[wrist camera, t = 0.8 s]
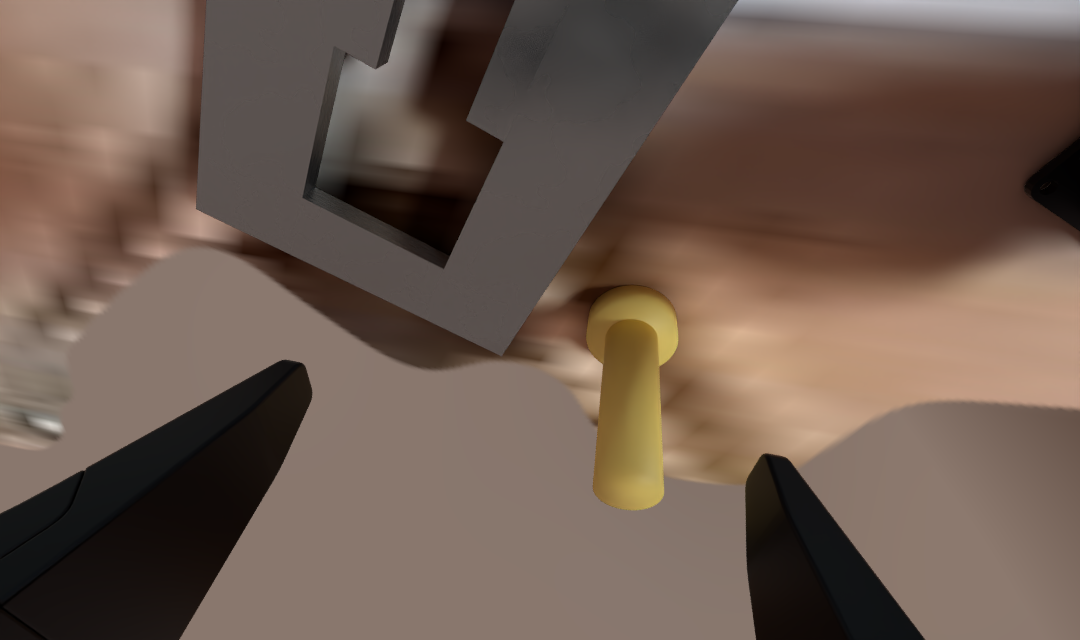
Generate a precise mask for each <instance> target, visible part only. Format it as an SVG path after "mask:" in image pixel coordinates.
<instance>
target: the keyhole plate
mask: <svg viewBox="0 0 1080 640" xmlns="http://www.w3.org/2000/svg"><path fill="white" fill-rule="evenodd" d="M737 1H738V0H515V1H514V4H513V6H512V9H511V11H510V14H509V16H508V19H507V21H506V23H505V26H504V28H503V31H502V33H501V36H500V38H499V41H498V43H497V46H496V48H495V51H494V53H493V55H492V58H491V60H490V63H489V65H488V68H487V70H486V73H485V75H484V78H483V80H482V83H481V85H480V87H479V90H478V92H477V95H476V97H475V100H474V102H473V105H472V107H471V110H470V112H469V115H468V117H467V119H466V121H468V122H470V123H471V124H473V125H475V126H477V127H478V128H480V129H482V130H484V131H486V132H487V133H489V134H491V135H493V136H494V137H496V138H498V139H500V140H501V141H503V145H502V147H501V149H500V151H499V153H498V155H497V157H496V159H495V162H494V164H493V166H492V168H491V170H490V172H489V174H488V176H487V179H486V181H485V183H484V185H483V187H482V189H481V191H480V193H479V196H478V198H477V200H476V202H475V204H474V206H473V208H472V210H471V213H470V215H469V217H468V219H467V221H466V223H465V225H464V227H463V230H462V232H461V234H460V236H459V238H458V240H457V242H456V244H455V247H454V249H453V251H452V253H451V255H450V256H449V255H447V254H445V253H443V252H441V251H439V250H437V249H435V248H433V247H431V246H429V245H427V244H425V243H423V242H421V241H419V240H418V239H416V238H414V237H412V236H410V235H408V234H406V233H404V232H402V231H400V230H398V229H396V228H394V227H392V226H390V225H388V224H386V223H384V222H382V221H380V220H378V219H376V218H374V217H372V216H371V215H369V214H367V213H365V212H363V211H361V210H359V209H357V208H355V207H353V206H351V205H349V204H347V203H345V202H343V201H341V200H339V199H337V198H335V197H333V196H331V195H329V194H327V193H325V192H323V191H322V190H320V189H318V188H316V187H315V186H316V181H317V177H318V172H319V168H320V163H321V159H322V154H323V150H324V145H325V141H326V136H327V132H328V127H329V123H330V119H331V114H332V110H333V105H334V101H335V96H336V92H337V87H338V83H339V78H340V74H341V69H342V65H343V60H344V56H345V52H346V53H348V54H349V55H351V56H353V57H355V58H356V59H358V60H360V61H362V62H364V63H365V64H367V65H369V66H371V67H372V68H374V69H377V68H379V67H380V66H382V65H384V64H386V63H387V62H388V59H389V56H390V52H391V48H392V45H393V41H394V38H395V34H396V30H397V27H398V23H399V20H400V16H401V13H402V9H403V5H404V2H405V0H206V17H205V38H204V58H203V78H202V98H201V119H200V139H199V159H198V180H197V200H196V209H197V210H199V211H201V212H203V213H205V214H207V215H209V216H211V217H214V218H216V219H218V220H220V221H222V222H224V223H226V224H228V225H230V226H232V227H234V228H236V229H238V230H241V231H243V232H245V233H247V234H249V235H251V236H253V237H255V238H257V239H259V240H261V241H263V242H265V243H268V244H270V245H272V246H274V247H276V248H278V249H280V250H282V251H284V252H286V253H288V254H290V255H292V256H294V257H297V258H299V259H301V260H303V261H305V262H307V263H309V264H311V265H313V266H315V267H317V268H319V269H321V270H324V271H326V272H328V273H330V274H332V275H334V276H336V277H338V278H340V279H342V280H344V281H346V282H348V283H351V284H353V285H355V286H357V287H359V288H361V289H363V290H365V291H367V292H369V293H371V294H373V295H375V296H378V297H380V298H382V299H384V300H386V301H388V302H390V303H392V304H394V305H396V306H398V307H400V308H402V309H405V310H407V311H409V312H411V313H413V314H415V315H417V316H419V317H421V318H423V319H425V320H427V321H429V322H432V323H434V324H436V325H438V326H440V327H442V328H444V329H446V330H448V331H450V332H452V333H454V334H456V335H459V336H461V337H463V338H465V339H467V340H469V341H471V342H473V343H475V344H477V345H479V346H481V347H483V348H486V349H488V350H490V351H492V352H494V353H496V354H498V355H500V356H502V355H503V353H504V352H505V350H506V349H507V347H508V346H509V344H510V343H511V341H512V340H513V338H514V337H515V335H516V334H517V332H518V331H519V329H520V328H521V326H522V325H523V323H524V322H525V320H526V319H527V317H528V316H529V314H530V313H531V311H532V310H533V308H534V307H535V305H536V304H537V302H538V301H539V299H540V298H541V296H542V295H543V293H544V292H545V290H546V289H547V287H548V286H549V284H550V283H551V281H552V280H553V278H554V277H555V275H556V274H557V272H558V271H559V269H560V268H561V266H562V265H563V263H564V262H565V260H566V259H567V257H568V256H569V254H570V253H571V251H572V250H573V248H574V247H575V245H576V244H577V242H578V241H579V239H580V238H581V236H582V235H583V233H584V231H585V230H586V228H587V227H588V225H589V224H590V222H591V221H592V219H593V218H594V216H595V215H596V213H597V212H598V210H599V209H600V207H601V206H602V204H603V203H604V201H605V200H606V198H607V197H608V195H609V194H610V192H611V191H612V189H613V188H614V186H615V185H616V183H617V182H618V180H619V179H620V177H621V176H622V174H623V173H624V171H625V170H626V168H627V167H628V165H629V164H630V162H631V161H632V159H633V158H634V156H635V155H636V153H637V152H638V150H639V149H640V147H641V146H642V144H643V143H644V141H645V140H646V138H647V137H648V135H649V134H650V132H651V131H652V129H653V128H654V126H655V125H656V123H657V122H658V120H659V119H660V117H661V116H662V114H663V113H664V111H665V110H666V108H667V107H668V105H669V104H670V102H671V101H672V99H673V98H674V96H675V95H676V93H677V92H678V90H679V89H680V87H681V86H682V84H683V83H684V81H685V80H686V78H687V77H688V75H689V74H690V72H691V70H692V69H693V67H694V66H695V64H696V63H697V61H698V60H699V58H700V57H701V55H702V54H703V52H704V51H705V49H706V48H707V46H708V45H709V43H710V42H711V40H712V39H713V37H714V36H715V34H716V33H717V31H718V30H719V28H720V27H721V25H722V24H723V22H724V21H725V19H726V18H727V16H728V15H729V13H730V12H731V10H732V9H733V7H734V6H735V4H736V3H737Z"/></svg>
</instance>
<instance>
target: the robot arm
mask: <svg viewBox="0 0 1080 640" xmlns="http://www.w3.org/2000/svg"><path fill="white" fill-rule="evenodd" d="M1050 181H1051V183H1050V184H1049V185H1048V187H1046V188H1044V189H1042V190H1040V188H1041V187H1042V186H1043V185H1044V184H1045V183H1047V182H1050ZM1024 191H1025V193H1026V194H1027V195H1028V196H1030V197H1031V198H1032V199H1034V200H1035V201H1037V202H1038V203H1040V204H1041V205H1043V206H1044V207H1045V208H1047V209H1048V210H1050V211H1051V212H1053V213H1054V214H1056V215H1057V216H1059V217H1060V218H1062V219H1063V220H1064V221H1066V222H1067V223H1069V224H1070V225H1072V226H1073V227H1075V228H1076V229H1078V230H1079V231H1080V139H1078V140H1077V141H1076V142H1074V143H1073V144H1072V145H1071V146H1069V147H1068V148H1067V149H1066V150H1064V151H1063V152H1062V153H1061V154H1059V155H1058V156H1057V157H1056V158H1054V159H1053V160H1052V161H1051V162H1049V163H1048V164H1047V165H1045V166H1044V167H1043V168H1042V169H1040V170H1039V171H1038V172H1037V173H1035V174H1034V175H1033V176H1032V177H1031V178H1030V179H1029V180H1028V181H1027V182H1026V184H1025V186H1024ZM311 399H312V388H311V384H310V381H309V377H308V374H307V370H306V367H305V366H304V364H302V363H300V362H295V361H290V360H282V361H279V362H277V363H275V364H273V365H271V366H269V367H268V368H266V369H264V370H262V371H260V372H259V373H257V374H255V375H253V376H252V377H250V378H248V379H246V380H244V381H242V382H241V383H239V384H237V385H235V386H233V387H232V388H230V389H228V390H226V391H224V392H223V393H221V394H219V395H217V396H215V397H214V398H212V399H210V400H208V401H206V402H204V403H203V404H201V405H199V406H197V407H196V408H194V409H192V410H190V411H188V412H186V413H185V414H183V415H181V416H179V417H177V418H176V419H174V420H172V421H170V422H168V423H167V424H165V425H163V426H161V427H160V428H158V429H156V430H154V431H152V432H151V433H148V434H147V435H145V436H143V437H141V438H140V439H138V440H136V441H134V442H132V443H130V444H129V445H127V446H125V447H123V448H121V449H120V450H118V451H116V452H114V453H112V454H111V455H109V456H107V457H105V458H104V459H101V460H100V461H98V462H96V463H94V464H92V465H91V466H89V467H87V468H86V470H85V471H80V472H78V473H76V474H74V475H72V476H70V477H69V478H67V479H65V480H63V481H62V482H60V483H58V484H56V485H54V486H53V487H50V488H49V489H47V490H45V491H43V492H41V493H39V494H37V495H35V496H34V497H32V498H30V499H28V500H26V501H24V502H22V503H20V504H19V505H16V506H14V507H13V508H11V509H9V510H7V511H4V512H2V513H1V514H0V640H179V639H180V637H181V636H182V634H183V632H184V630H185V629H186V627H187V625H188V624H189V622H190V621H191V619H192V617H193V615H194V614H195V612H196V610H197V609H198V607H199V605H200V604H201V602H202V600H203V599H204V597H205V595H206V593H207V592H208V590H209V588H210V587H211V585H212V583H213V582H214V580H215V578H216V577H217V575H218V573H219V572H220V570H221V568H222V567H223V565H224V563H225V561H226V560H227V558H228V556H229V555H230V553H231V551H232V550H233V548H234V546H235V545H236V543H237V541H238V539H239V538H240V536H241V534H242V533H243V531H244V529H245V528H246V526H247V524H248V523H249V521H250V519H251V518H252V516H253V514H254V512H255V511H256V509H257V507H258V506H259V504H260V502H261V501H262V499H263V497H264V496H265V494H266V492H267V491H268V489H269V487H270V485H271V484H272V482H273V480H274V479H275V476H276V475H277V473H278V471H279V470H280V468H281V465H282V464H283V462H284V459H285V457H286V455H287V453H288V451H289V449H290V446H291V444H292V442H293V440H294V438H295V435H296V433H297V431H298V429H299V427H300V424H301V422H302V420H303V418H304V415H305V413H306V411H307V409H308V407H309V404H310V402H311ZM745 502H746V557H747V573H748V581H749V590H750V596H751V605H752V612H753V620H754V627H755V635H756V640H925V639H924V638H923V636H922V635H921V633H920V632H919V631H918V630H917V628H916V627H915V625H914V624H913V623H912V622H911V621H910V619H909V618H908V616H907V615H906V614H905V612H904V611H903V610H902V609H901V607H900V606H899V604H898V603H897V602H896V600H895V599H894V598H893V596H892V595H891V594H890V592H889V591H888V590H887V588H886V587H885V586H884V585H883V583H882V582H881V580H880V579H879V578H878V577H877V575H876V574H875V573H874V571H873V570H872V569H871V567H870V566H869V565H868V563H867V562H866V561H865V559H864V558H863V557H862V555H861V554H860V553H859V551H858V550H857V549H856V548H855V546H854V545H853V544H852V542H851V541H850V540H849V538H848V537H847V536H846V534H845V533H844V532H843V530H842V529H841V528H840V526H839V525H838V524H837V522H836V521H835V520H834V518H833V517H832V516H831V514H830V513H829V512H828V511H827V509H826V508H825V507H824V505H823V504H822V503H821V501H820V500H819V499H818V497H817V496H816V495H815V493H814V492H813V491H812V489H811V488H810V487H809V485H808V484H807V483H806V481H805V480H804V479H803V478H802V476H801V475H800V473H799V472H798V471H797V470H796V468H795V467H794V466H793V464H792V463H791V462H790V461H789V460H788V459H787V458H786V457H783V456H779V455H773V454H768V453H765V454H763V455H762V456H761V457H760V458H759V460H758V461H757V463H756V465H755V466H754V468H753V470H752V471H751V473H750V474H749V476H748V478H747V481H746V487H745Z"/></svg>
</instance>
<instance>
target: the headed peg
mask: <svg viewBox="0 0 1080 640" xmlns="http://www.w3.org/2000/svg"><path fill="white" fill-rule="evenodd" d="M586 341H587V345H588V348H589V350H590V352H591V353H592V355H593V356H594V357H595V358H596V359H597V360H598V361H599V362H601V363H602V364H603V372H602V384H601V396H600V407H599V419H598V431H597V443H596V454H595V455H596V456H595V466H594V478H593V491H594V493H595V495H596V496H597V497H598V498H599V499H600V500H601V501H602V502H604V503H605V504H607V505H609V506H612V507H615V508H619V509H624V510H641V509H647V508H650V507H652V506H654V505H656V504H657V503H659V502H660V501H661V500H662V498H663V495H664V479H663V454H662V428H661V403H660V378H659V366H661V365H662V364H664V363H665V362H666V361H668V360H669V359H670V358H671V356H672V355H673V354H674V352H675V350H676V348H677V344H678V329H677V318H676V312H675V309H674V307H673V305H672V304H671V302H670V301H669V300H668V299H667V298H666V297H665V296H664V295H663V294H661V293H659V292H658V291H656V290H654V289H651V288H648V287H644V286H638V285H626V286H620V287H616V288H613V289H611V290H609V291H607V292H605V293H603V294H602V295H601V296H600V297H598V298H597V299H596V301H595V302H594V303H593V305H592V307H591V309H590V312H589V318H588V325H587V333H586Z"/></svg>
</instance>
